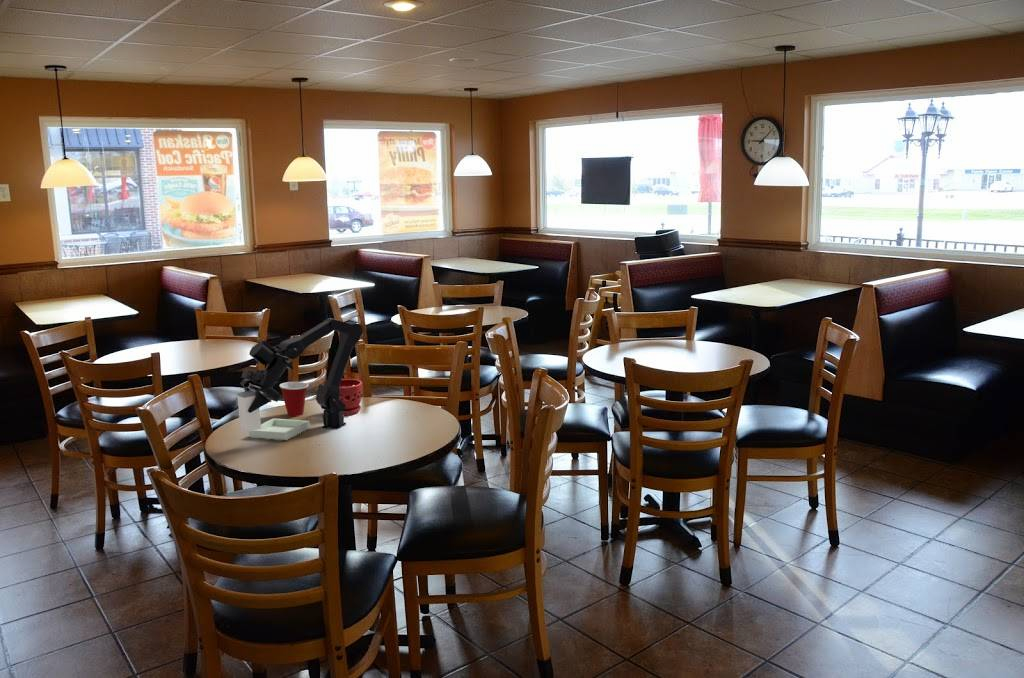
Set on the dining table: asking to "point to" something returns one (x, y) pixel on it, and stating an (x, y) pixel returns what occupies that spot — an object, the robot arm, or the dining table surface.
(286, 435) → the tray
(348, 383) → the plant pot
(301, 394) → the plastic cup
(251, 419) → the white rectangular box
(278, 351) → the robot arm
